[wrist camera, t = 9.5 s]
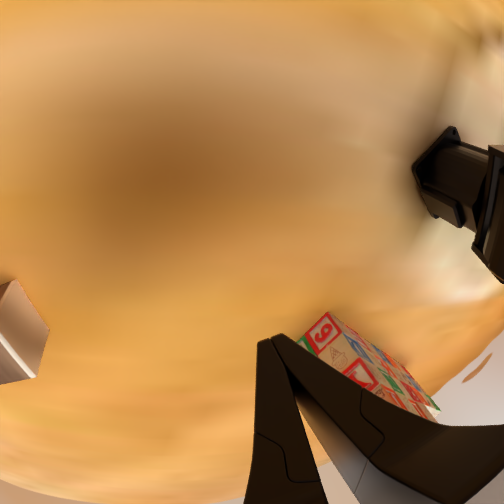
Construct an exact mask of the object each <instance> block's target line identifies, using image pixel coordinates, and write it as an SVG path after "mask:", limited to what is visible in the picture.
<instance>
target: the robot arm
mask: <svg viewBox="0 0 504 504" xmlns="http://www.w3.org/2000/svg"><path fill="white" fill-rule="evenodd" d="M412 170H413V173H414V176H415V178H416V180H417V182H418V185H419V187H420V191H421V194H422V196H423V199H424V201H425V204H426V206H427V209H428V210H429V211H430V213H431V216H432V217H433V218H435V219H437V218H439V217H441V218H442V219H444V220H446V221H447V222H449V223H451V224H452V225H454V226H456V227H457V228H462V227H463V226H465V227H467V228H468V229H470V230H472V231H473V232H475V233H476V234H475V239H474V242H473V243H472V247H471V249H472V250H473V252H474V253H475V254H476V255H477V256H478V257H479V258H480V260H481V261H482V262H483V263H484V264H485V265H486V267H487V268H488V269H489V270H490V271H491V273H492V274H493V275H494V276H495V277H496V278H497V279H498V280H499V282H500V283H502V284H504V145H488V151H487V150H485V149H482V148H479V147H476V146H473V145H470V144H467V143H464V142H461V140H460V137H459V134H458V131H457V129H456V127H453V126H450V127H449V128H448V129H447V130H446V131H445V132H444V133H443V134H442V135H441V137H440V138H439V139H438V140H437V141H436V142H435V143H434V144H433V145H432V146H431V147H430V148H429V149H428V150H427V151H426V152H425V153H424V155H423V156H422V157H421V158H420V159H419V160H418V161H417V162H416V163H415V164H414V165H413V168H412ZM298 408H299V409H298ZM299 410H300V411H301V413H302V414H303V416H304V418H305V419H306V421H307V423H308V424H309V426H310V427H311V429H312V431H313V432H314V434H315V435H316V437H317V438H318V440H319V442H320V443H321V445H322V446H323V448H324V450H325V451H326V453H327V454H328V456H329V457H330V459H331V460H332V462H333V464H334V465H335V466H336V468H337V470H338V471H339V473H340V474H341V476H342V477H343V479H344V480H345V482H346V483H347V485H348V486H349V488H350V489H351V491H352V492H353V494H354V496H355V497H356V498H357V500H358V501H359V503H360V504H504V424H502V425H486V426H448V425H443V424H439V423H436V422H433V421H430V420H428V419H426V418H423V417H421V416H419V415H416V414H414V413H412V412H409V411H407V410H405V409H403V408H400V407H398V406H396V405H394V404H392V403H390V402H388V401H386V400H384V399H382V398H381V397H379V396H377V395H376V394H374V393H372V392H371V391H369V390H368V389H366V388H364V387H363V388H362V386H361V385H360V384H358V383H356V382H355V381H353V380H352V379H350V378H349V377H347V376H346V375H344V374H343V373H341V372H339V371H338V370H336V369H335V368H333V367H332V366H330V365H329V364H327V363H326V362H324V361H323V360H321V359H320V358H318V357H317V356H315V355H314V354H312V353H311V352H309V351H308V350H306V349H305V348H304V347H302V346H301V345H299V344H298V343H296V342H295V341H293V340H292V339H290V338H289V337H287V336H286V335H285V334H283V333H280V334H277V335H275V336H272V337H271V338H270V339H269V338H267V339H264V340H261V341H259V342H258V343H257V360H256V389H255V417H254V439H253V454H252V463H251V469H250V475H249V480H248V485H247V489H246V494H245V499H244V503H243V504H328V501H327V498H326V495H325V492H324V489H323V486H322V483H321V479H320V476H319V473H318V470H317V467H316V464H315V460H314V457H313V454H312V451H311V448H310V444H309V441H308V438H307V435H306V432H305V428H304V425H303V422H302V419H301V416H300V412H299Z"/></svg>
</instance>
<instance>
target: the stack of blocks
mask: <svg viewBox="0 0 504 504" xmlns="http://www.w3.org/2000/svg"><path fill="white" fill-rule="evenodd" d="M296 343H298V344H299V345H301V346H302V347H304V348H305V349H306V350H308V351H309V352H311V353H312V354H314V355H315V356H317V357H318V358H320V359H321V360H323V361H324V362H326V363H327V364H329V365H330V366H332V367H333V368H335V369H336V370H338V371H339V372H341V373H343V374H344V375H346V376H347V377H349V378H350V379H352V380H353V381H355V382H356V383H358V384H360V385H361V386H362V388H363V387H364V388H366V389H368V390H369V391H371V392H372V393H374V394H376V395H377V396H379V397H381V398H382V399H384V400H386V401H388V402H390V403H392V404H394V405H396V406H398V407H400V408H403V409H405V410H407V411H409V412H412V413H414V414H416V415H419V416H421V417H423V418H426V419H428V420H430V421H433V422H436V423H438V422H437V421H436V420H435V418H434V417H435V416H436V415H438V414H439V413H440V412H441V410H440V409H439V408H438V406H437V405H436V404H435V403H434V401H433V400H432V399H431V398H430V396H428V395H427V394H426V393H425V391H424V390H423V389H422V388H421V386H420V385H419V384H418V383H417V382H416V381H415V380H414V378H413V377H412V376H411V375H410V373H409V372H408V371H407V370H406V369H405V368H404V367H403V366H401V365H400V364H399V363H398V362H397V361H395V360H394V359H392V358H391V357H390V356H388V355H387V354H386V353H384V352H383V351H380V350H379V349H377V348H376V347H375V346H373V345H372V344H370V343H369V342H367V341H366V340H365V339H363V338H362V337H360V336H359V335H358V334H357V333H356V332H355V331H353V330H352V329H350V328H349V327H348V326H346V325H345V324H344V323H343V322H341V321H340V320H339V319H337V318H336V317H335V316H333V315H332V314H330V313H329V312H327V313H326V314H325V315H324V316H323V317H322V318H321V319H320V320H319V321H318V322H317V323H316V324H315V325H314V326H313V327H312V328H311V329H310V330H309V331H308V332H306V333H305V335H304V336H303V337H302V338H301V339H300V340H299V341H297V342H296Z"/></svg>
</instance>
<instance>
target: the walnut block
mask: <svg viewBox="0 0 504 504" xmlns="http://www.w3.org/2000/svg"><path fill="white" fill-rule="evenodd" d="M48 333H49V328H48V327H47V325H46V324H45V323H44V321H43V320H42V318H41V317H40V315H39V314H38V312H37V311H36V309H35V308H34V306H33V305H32V303H31V301H30V300H29V298H28V297H27V295H26V293H25V292H24V290H23V288H22V287H21V285H20V283H19V282H18V280H17V279H15V280H13V281H11V282H8V283H6V284H3V285H1V286H0V385H1V384H6V383H11V382H16V381H21V380H25V379H30V378H34V377H37V374H38V370H39V366H40V362H41V358H42V354H43V351H44V347H45V344H46V340H47V337H48Z"/></svg>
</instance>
